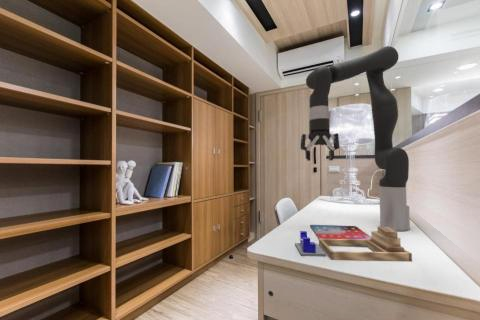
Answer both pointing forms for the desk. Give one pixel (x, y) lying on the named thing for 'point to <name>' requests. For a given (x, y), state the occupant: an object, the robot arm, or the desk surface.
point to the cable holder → (307, 243)
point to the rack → (346, 255)
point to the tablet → (339, 232)
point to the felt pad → (318, 253)
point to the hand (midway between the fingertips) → (319, 160)
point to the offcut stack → (387, 239)
